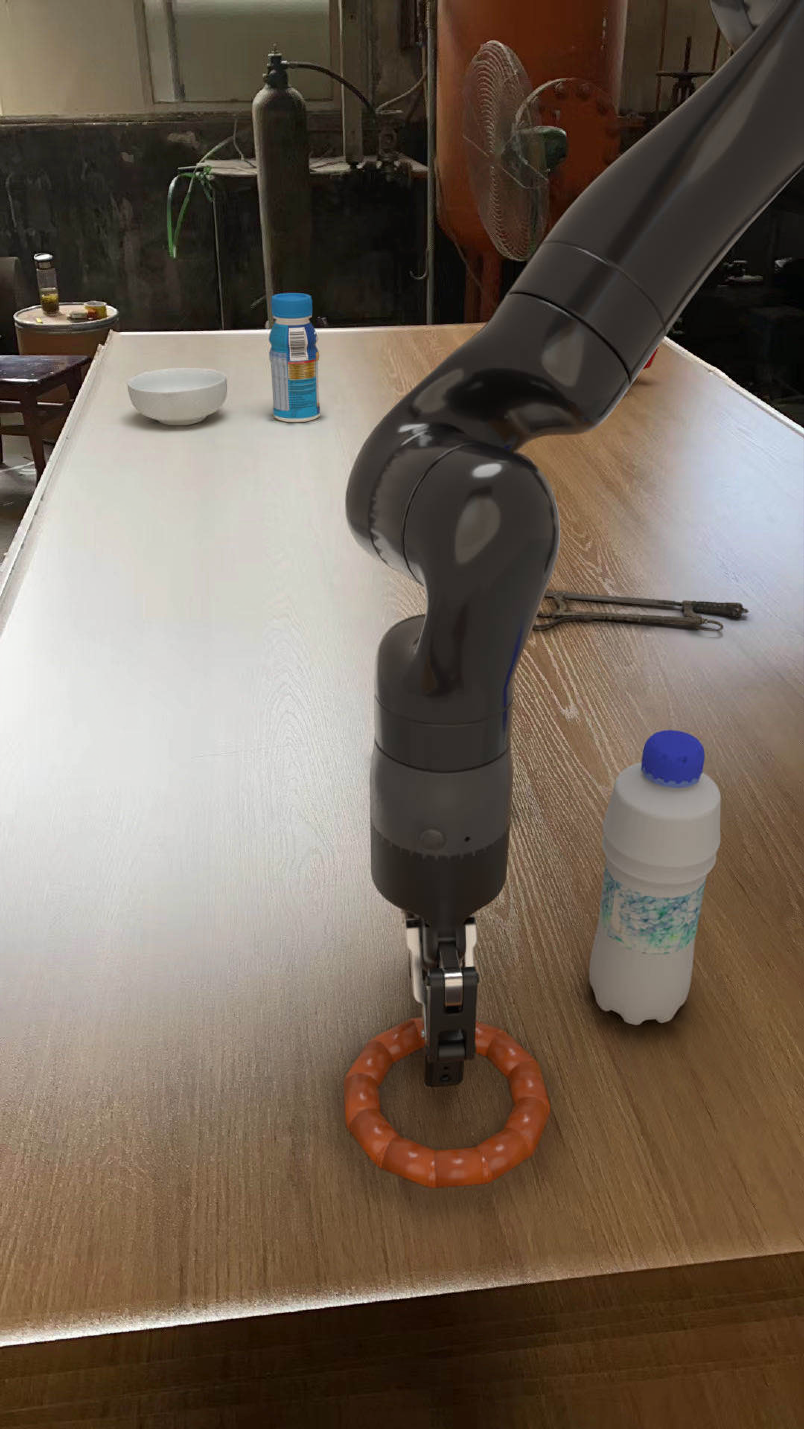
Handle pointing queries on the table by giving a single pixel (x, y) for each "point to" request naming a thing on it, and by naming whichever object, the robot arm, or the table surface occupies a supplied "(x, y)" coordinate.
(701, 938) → the table surface
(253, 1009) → the table surface
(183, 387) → the cereal bowl
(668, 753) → the bottle
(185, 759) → the table surface
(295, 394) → the beverage bottle
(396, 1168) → the ring
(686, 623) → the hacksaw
